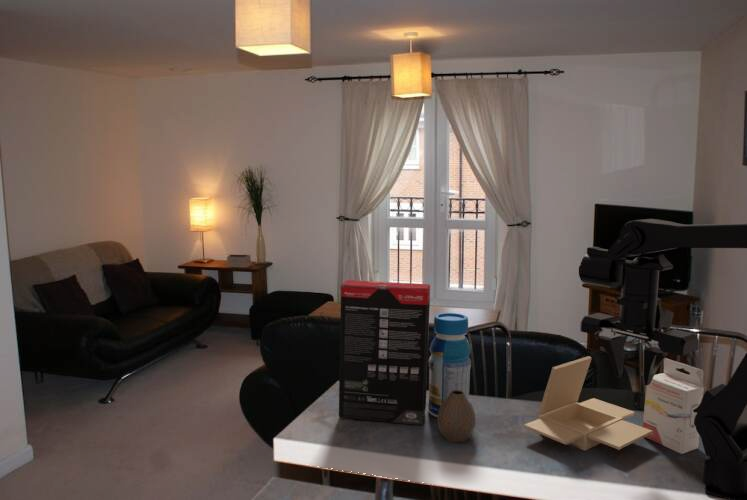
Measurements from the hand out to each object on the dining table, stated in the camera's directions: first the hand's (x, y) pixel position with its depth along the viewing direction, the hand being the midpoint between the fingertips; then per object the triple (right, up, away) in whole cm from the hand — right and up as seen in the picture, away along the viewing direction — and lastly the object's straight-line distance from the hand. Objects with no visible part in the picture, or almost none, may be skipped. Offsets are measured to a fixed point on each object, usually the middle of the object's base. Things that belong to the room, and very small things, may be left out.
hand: (633, 380), depth 110 cm
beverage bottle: (-30, -10, +18) cm, 37 cm away
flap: (-9, -8, +13) cm, 18 cm away
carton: (-4, -12, +7) cm, 15 cm away
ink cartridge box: (+9, -13, +6) cm, 16 cm away
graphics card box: (-43, -11, +16) cm, 47 cm away
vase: (-30, -12, +7) cm, 33 cm away
